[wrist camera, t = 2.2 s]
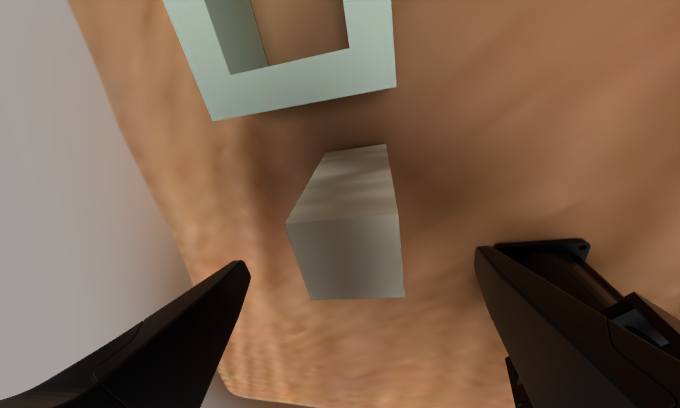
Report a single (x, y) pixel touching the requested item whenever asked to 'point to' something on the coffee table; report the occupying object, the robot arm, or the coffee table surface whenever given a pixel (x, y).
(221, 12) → the green square frame
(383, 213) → the beige rectangular block
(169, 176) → the coffee table surface
